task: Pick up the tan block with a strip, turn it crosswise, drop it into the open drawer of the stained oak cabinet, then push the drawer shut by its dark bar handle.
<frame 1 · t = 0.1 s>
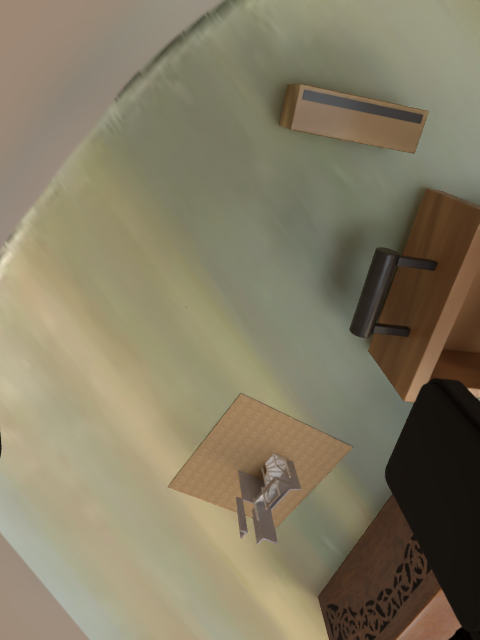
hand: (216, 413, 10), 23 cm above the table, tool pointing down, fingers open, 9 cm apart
drawer: (473, 302, 31), point 4 cm above the table, slide at 9.5 cm
tan block with strip: (341, 117, 29), on the table
tissue box cover: (420, 536, 51), on the table
architectural model: (239, 430, 40), on the table
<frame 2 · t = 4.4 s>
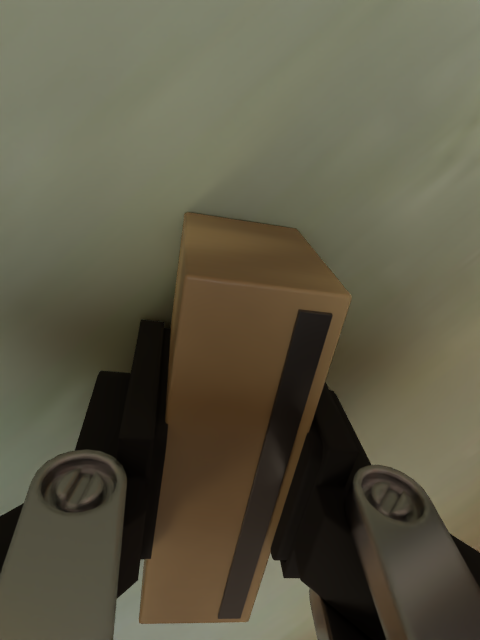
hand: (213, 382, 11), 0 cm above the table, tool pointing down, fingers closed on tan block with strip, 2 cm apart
tan block with strip: (213, 378, 11), on the table, touching gripper
when the fingers open (6 cm above the table, at t = 11.0 s): tan block with strip drops 4 cm, resting on drawer.
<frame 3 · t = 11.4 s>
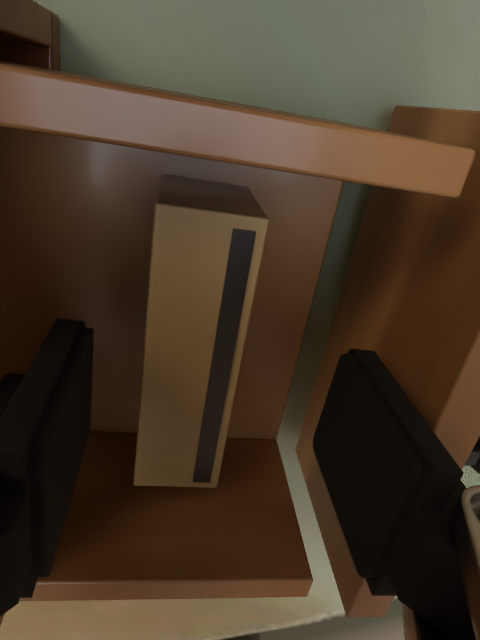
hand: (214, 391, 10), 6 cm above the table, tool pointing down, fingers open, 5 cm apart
drawer: (256, 351, 12), point 4 cm above the table, slide at 9.5 cm, touching tan block with strip
tan block with strip: (190, 309, 14), point 2 cm above the table, touching drawer
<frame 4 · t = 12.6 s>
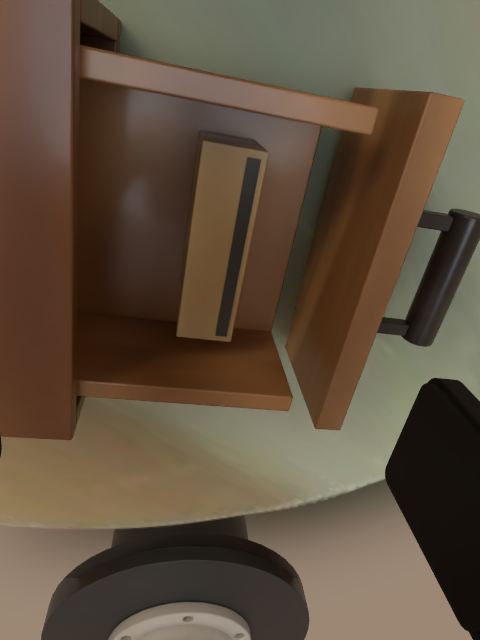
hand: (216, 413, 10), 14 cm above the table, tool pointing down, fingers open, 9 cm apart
drawer: (258, 248, 19), point 4 cm above the table, slide at 10.0 cm, touching tan block with strip
tan block with strip: (213, 226, 20), point 2 cm above the table, touching drawer
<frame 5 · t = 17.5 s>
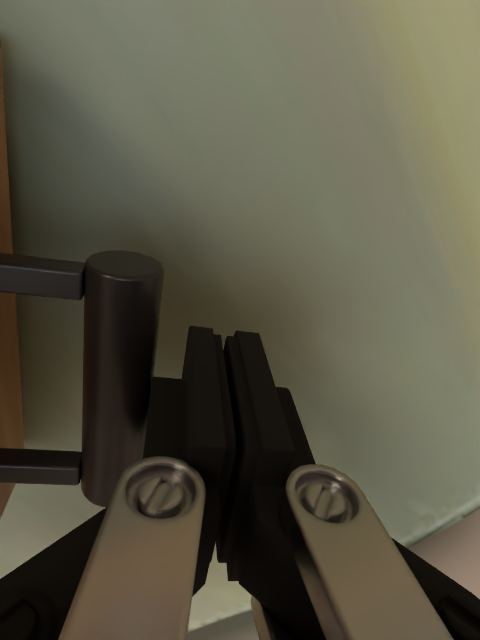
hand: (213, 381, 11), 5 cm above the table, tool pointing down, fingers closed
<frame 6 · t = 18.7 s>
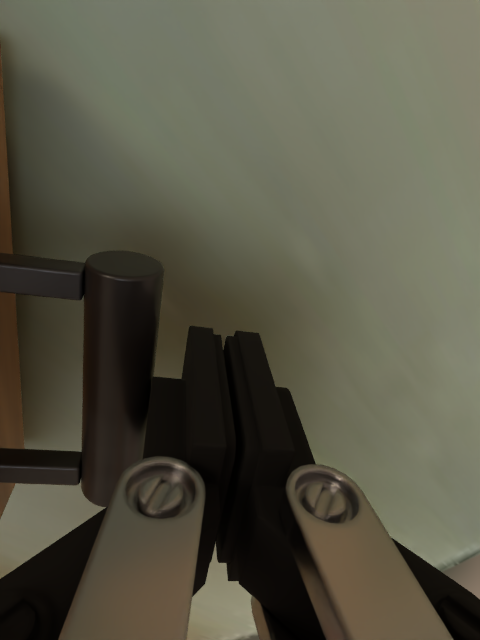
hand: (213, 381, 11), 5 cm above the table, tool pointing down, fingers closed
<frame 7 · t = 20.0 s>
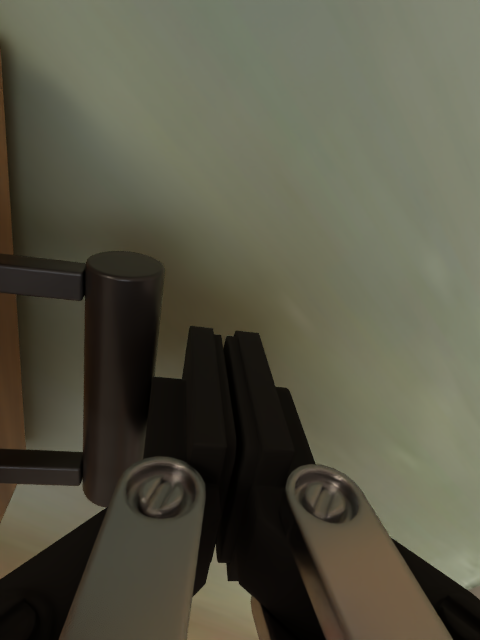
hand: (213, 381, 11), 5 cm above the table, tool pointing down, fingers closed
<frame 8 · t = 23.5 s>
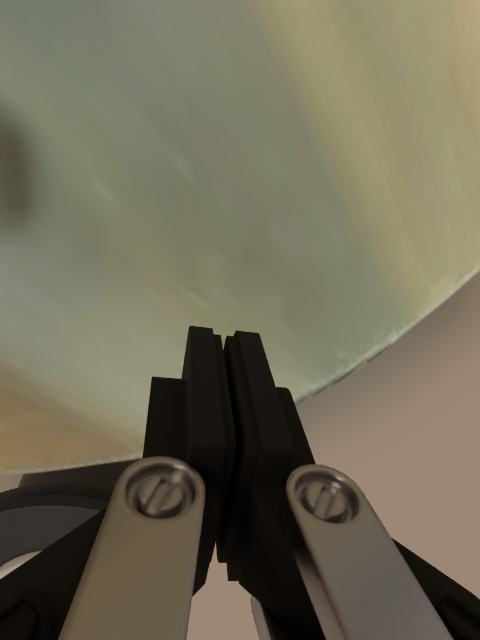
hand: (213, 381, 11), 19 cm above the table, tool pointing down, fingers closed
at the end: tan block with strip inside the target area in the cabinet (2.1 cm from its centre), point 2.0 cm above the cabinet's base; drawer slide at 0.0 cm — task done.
